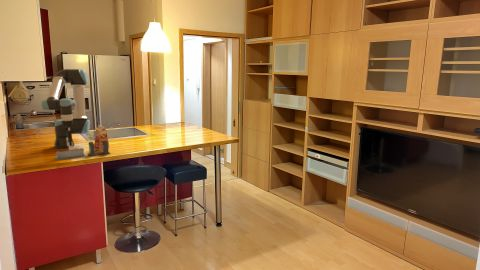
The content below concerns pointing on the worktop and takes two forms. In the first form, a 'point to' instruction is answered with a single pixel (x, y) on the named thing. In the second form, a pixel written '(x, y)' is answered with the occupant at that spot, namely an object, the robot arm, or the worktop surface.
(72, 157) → the mat
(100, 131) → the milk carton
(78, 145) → the worktop surface
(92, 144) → the standards
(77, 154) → the rail
